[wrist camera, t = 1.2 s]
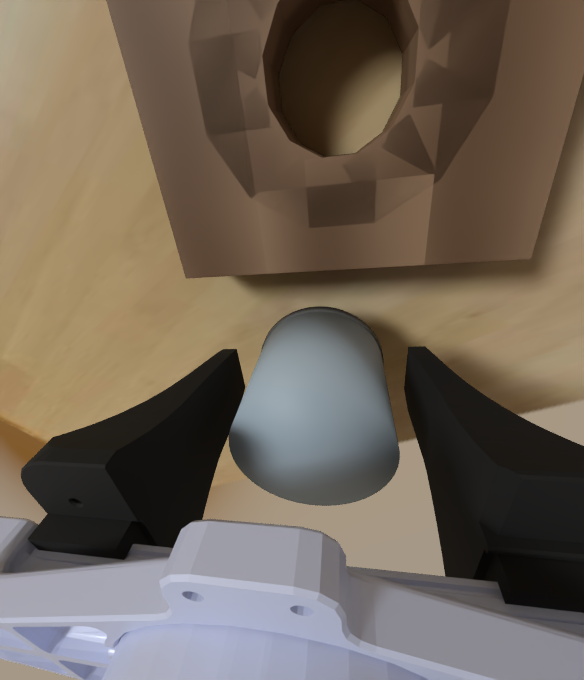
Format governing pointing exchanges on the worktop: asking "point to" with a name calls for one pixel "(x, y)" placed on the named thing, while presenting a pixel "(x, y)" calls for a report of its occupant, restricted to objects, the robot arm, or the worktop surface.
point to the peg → (317, 412)
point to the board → (370, 161)
